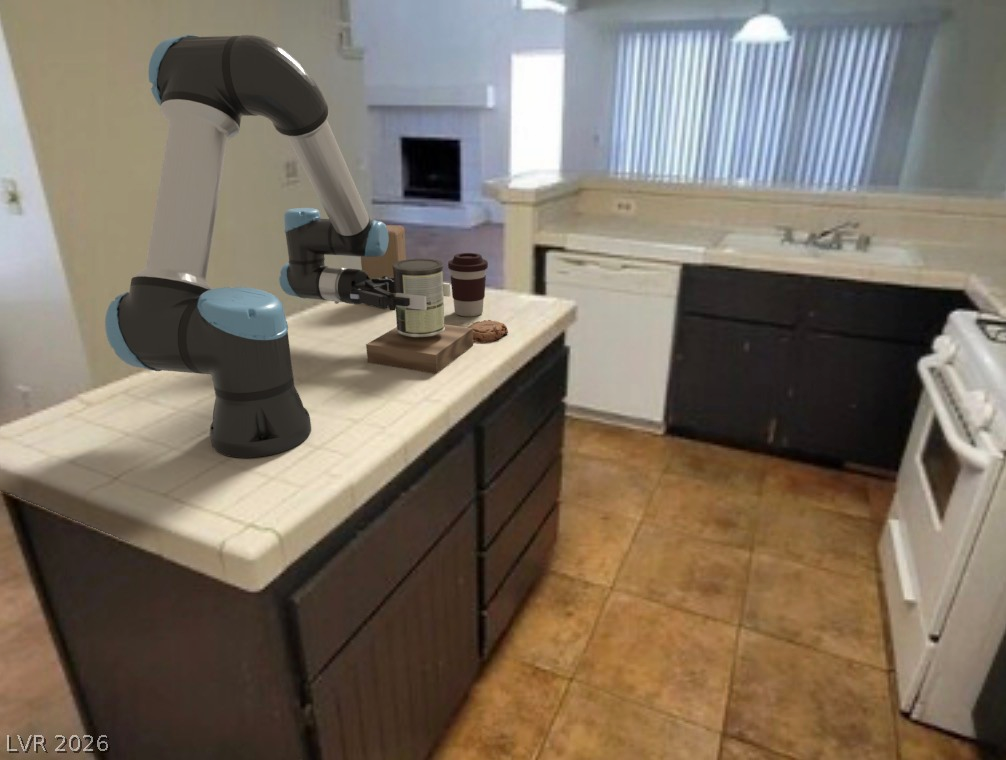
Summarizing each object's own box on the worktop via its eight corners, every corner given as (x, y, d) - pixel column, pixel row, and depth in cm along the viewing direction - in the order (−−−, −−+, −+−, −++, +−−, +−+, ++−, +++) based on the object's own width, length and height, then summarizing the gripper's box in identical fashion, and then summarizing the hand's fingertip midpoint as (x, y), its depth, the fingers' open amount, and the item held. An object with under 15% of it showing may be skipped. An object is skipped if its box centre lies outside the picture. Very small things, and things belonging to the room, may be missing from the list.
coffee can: (386, 332, 135) (381, 265, 129) (416, 319, 143) (413, 256, 137) (425, 340, 130) (422, 272, 124) (454, 327, 138) (453, 262, 132)
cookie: (466, 344, 145) (466, 331, 144) (465, 329, 155) (464, 317, 154) (510, 343, 146) (510, 330, 145) (506, 328, 156) (506, 316, 154)
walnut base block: (436, 373, 128) (435, 354, 126) (367, 362, 133) (366, 344, 132) (473, 345, 143) (472, 328, 142) (410, 336, 149) (409, 319, 147)
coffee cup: (443, 316, 163) (441, 258, 157) (457, 306, 172) (456, 250, 166) (480, 320, 160) (480, 260, 154) (492, 309, 169) (492, 252, 163)
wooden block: (409, 297, 179) (405, 224, 171) (400, 307, 170) (395, 231, 162) (374, 296, 180) (368, 224, 172) (363, 306, 171) (357, 230, 163)
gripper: (375, 290, 150) (461, 300, 143) (315, 316, 131) (411, 329, 123) (373, 258, 147) (460, 266, 140) (311, 280, 128) (409, 291, 121)
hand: (437, 296), depth 132 cm, fingers closed on coffee can, 10 cm apart
